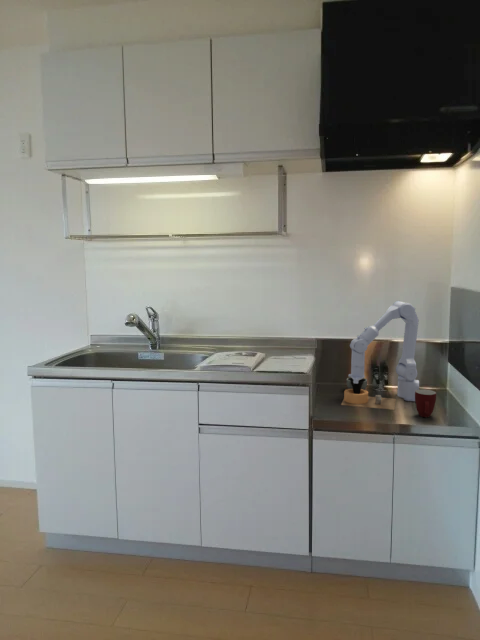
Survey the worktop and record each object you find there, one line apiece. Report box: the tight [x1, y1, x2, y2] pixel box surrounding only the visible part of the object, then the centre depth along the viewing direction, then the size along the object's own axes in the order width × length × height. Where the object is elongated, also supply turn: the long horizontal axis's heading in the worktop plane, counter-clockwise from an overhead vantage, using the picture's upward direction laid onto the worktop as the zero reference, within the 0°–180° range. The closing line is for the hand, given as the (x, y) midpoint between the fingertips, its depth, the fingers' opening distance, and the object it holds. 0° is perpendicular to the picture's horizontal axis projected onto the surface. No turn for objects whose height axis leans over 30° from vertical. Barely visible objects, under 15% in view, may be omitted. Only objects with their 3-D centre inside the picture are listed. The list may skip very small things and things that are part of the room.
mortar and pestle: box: [346, 376, 368, 390], centre depth 236 cm, size 11×9×12 cm
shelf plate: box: [340, 394, 397, 411], centre depth 220 cm, size 22×16×5 cm
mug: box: [414, 388, 437, 418], centre depth 203 cm, size 10×8×10 cm
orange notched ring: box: [343, 388, 369, 404], centre depth 221 cm, size 10×10×4 cm
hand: (357, 395), depth 225 cm, fingers closed on orange notched ring, 2 cm apart
